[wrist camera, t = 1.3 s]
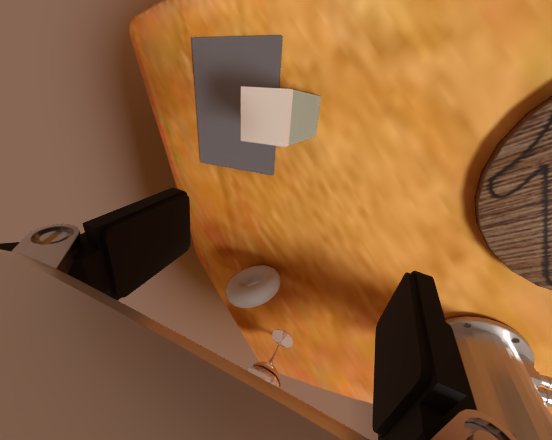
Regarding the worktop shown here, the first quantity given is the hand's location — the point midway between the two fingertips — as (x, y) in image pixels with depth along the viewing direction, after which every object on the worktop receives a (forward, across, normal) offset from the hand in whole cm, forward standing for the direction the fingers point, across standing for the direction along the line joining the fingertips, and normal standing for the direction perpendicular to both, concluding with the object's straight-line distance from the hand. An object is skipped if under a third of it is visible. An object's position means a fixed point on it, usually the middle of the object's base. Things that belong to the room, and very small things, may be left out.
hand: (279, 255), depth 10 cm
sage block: (+27, +8, -3) cm, 28 cm away
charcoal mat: (+27, +18, -2) cm, 33 cm away
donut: (+27, +9, +25) cm, 38 cm away
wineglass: (+26, +2, +42) cm, 49 cm away
